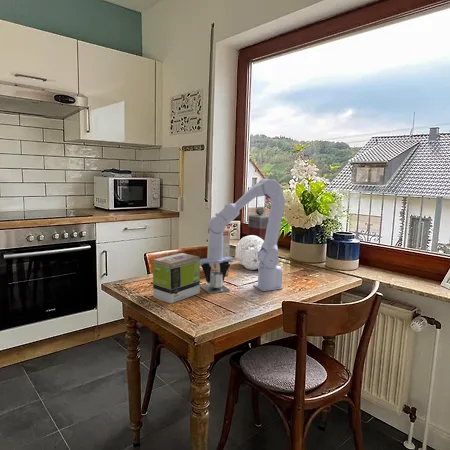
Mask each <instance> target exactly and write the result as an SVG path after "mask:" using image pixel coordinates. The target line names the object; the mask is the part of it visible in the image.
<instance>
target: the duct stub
mask: <svg viewBox="0 0 450 450" xmlns="http://www.w3.org/2000/svg"><path fill="white" fill-rule="evenodd" d="M200 289H202V290H203V291H205V293H207V294H209V295H210V294H218V293H225V292H227V293H228V292H230V291H231V289H230V288H228V287H227V286H225V285H224V284H223V286H221V287H218V288H213V287H209V286H208V284H202V285H201V284H200Z"/></svg>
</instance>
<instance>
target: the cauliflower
mask: <svg viewBox="0 0 450 450" xmlns="http://www.w3.org/2000/svg"><path fill="white" fill-rule="evenodd" d="M263 243H264V241H263V239H261V238H259V237H258V236H254V235H249V236H248V235H246V236H243V237H242V238H241V239H239V241H238V242H237V243H236V246H235V251H234V252H235V256H234V258H235V259H236V260H237V261H238V263H239V264H240V265H241V266H243V267H244V268H245V269H246V270H251V271H256V270H258V268H259V263H260V261H259V259H258V252H259V251H260V249H261V246H262V244H263Z"/></svg>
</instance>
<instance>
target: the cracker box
mask: <svg viewBox="0 0 450 450" xmlns="http://www.w3.org/2000/svg"><path fill="white" fill-rule="evenodd" d="M209 230H210V228H209V227H208V226H207V251H208V250H209ZM230 239H231V230H229V229H226V228H225V229H224V231H223V257H230V243H231V241H230ZM206 258H208V254H207V257H206ZM209 265H210V267H211V272H212V271H218V272H220V264H219V263H215V264H209ZM229 269H230V267H229V268H228V270H227V272H226V275H225V277H226V276H229Z"/></svg>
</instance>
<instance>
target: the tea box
mask: <svg viewBox="0 0 450 450" xmlns="http://www.w3.org/2000/svg"><path fill="white" fill-rule="evenodd" d="M200 259H201V258H200V256H198V255H193V254H188V253H183V252H179V253H175V254H171V255H170V254H169V255H166V256H162V257H158V258H157V257H156V258H153V259H152V291H153V292H152V293H153V295H152V296H153V298H154V299H157V300H160V301H163V302H166V303H169V304H174V303H176V302H179V301H181V300H184V299H187V298H190V297H193V296H195V295H198V294H200V293H201V287H200V285H201V268H200V267H201V265H200Z"/></svg>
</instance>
